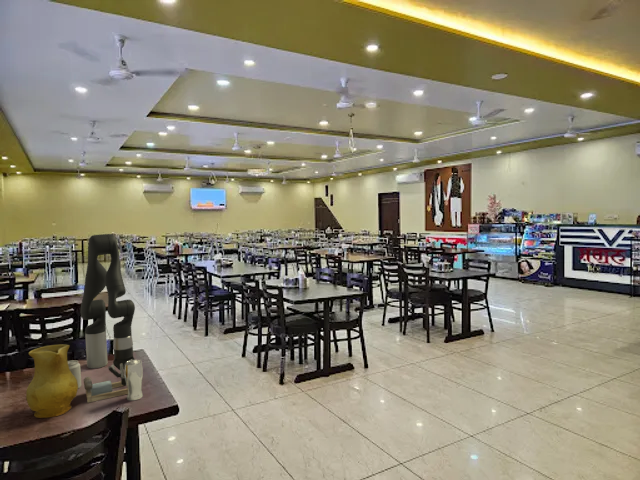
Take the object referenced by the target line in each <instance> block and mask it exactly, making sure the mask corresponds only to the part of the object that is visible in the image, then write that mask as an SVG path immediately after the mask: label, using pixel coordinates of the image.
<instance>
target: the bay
mask: <svg viewBox="0 0 640 480" xmlns="http://www.w3.org/2000/svg"><path fill="white" fill-rule="evenodd" d="M92 384H93V383H92V378H91V377H90V376H86V377H84V379H83V386H84V389H85V395H86V402H87V404H89V403H93V402H97V401H102V400H107V399H112V398H116V397H120V396H124V395H127V394H128V390H127V388H123V389H118V390H112V392H109V393H104V394H99V395H95V396H91V389H92V387H93V386H92ZM111 384H112V389H116V388H121V387H124V386H123V385H122V383H121V380H120V381H117V382H111Z"/></svg>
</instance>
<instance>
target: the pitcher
mask: <svg viewBox="0 0 640 480" xmlns="http://www.w3.org/2000/svg"><path fill="white" fill-rule="evenodd" d="M70 346H71V345H70V344H62V343H61V344H51V345H44V346H41V347H38V348H34V349H32V350H30V351H29V352H28V355H29V357H31V358H32V359H33V361H34V374H33V378H32V380H30V383H29V384H28V386H27V388H26V396H25V397H26V399H25V400H26V402H27V406H28V407H29V409H30V410H31V411H33V412H34V415H33V416H34V417H35V418H40V419H43V418H44V419H47V418H55V417H58V416H61V415H64V414H66V413H68V412H69V411H70V410H71V409H72V404H71V403H72V401H73V400H74V399H75V398H76V397H77V393H78V390H79V389H78V383H77V379H76V378H75V376H74V375H73V374H72V373H71V371H70V369H69V366H68V361H69V360H68V351H69V348H70Z"/></svg>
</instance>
